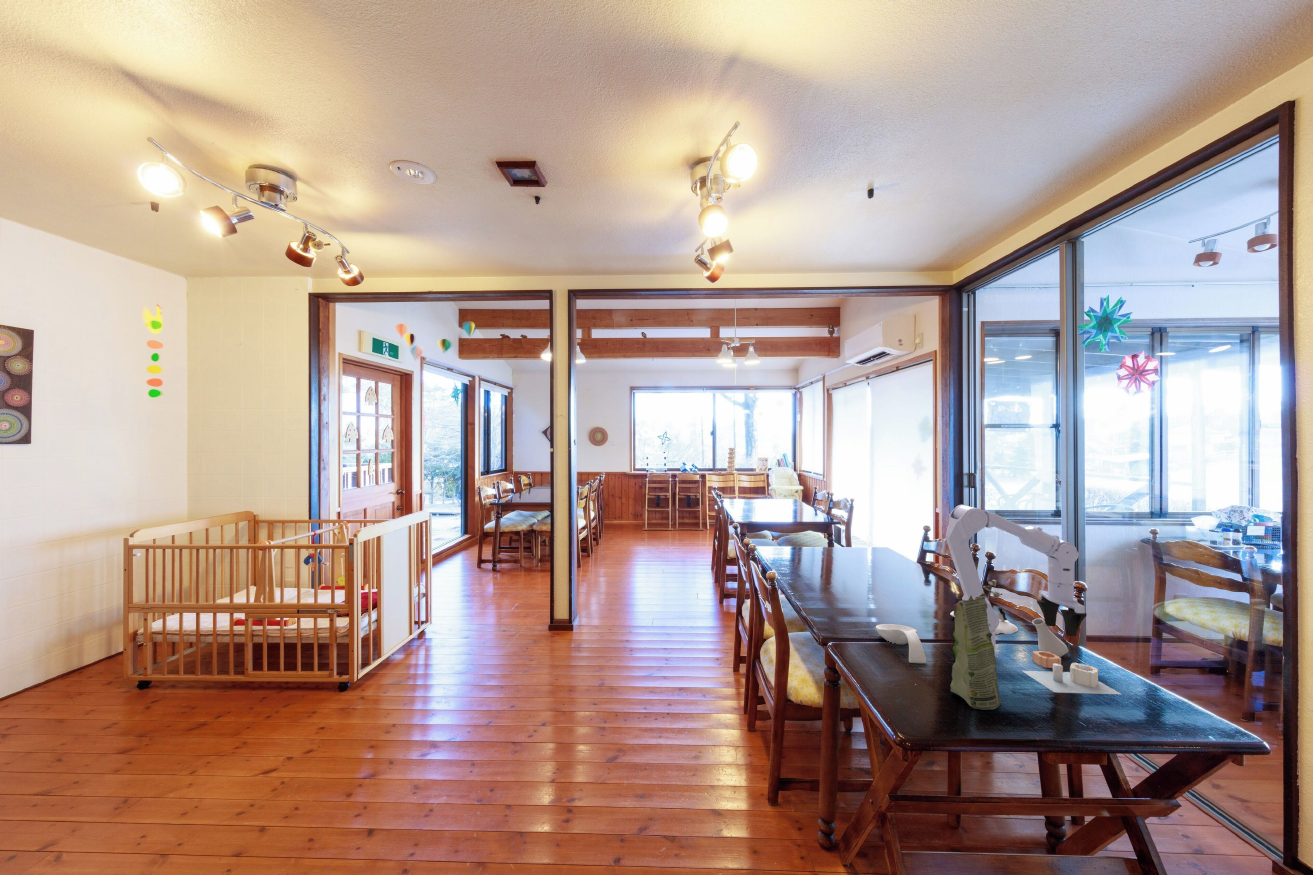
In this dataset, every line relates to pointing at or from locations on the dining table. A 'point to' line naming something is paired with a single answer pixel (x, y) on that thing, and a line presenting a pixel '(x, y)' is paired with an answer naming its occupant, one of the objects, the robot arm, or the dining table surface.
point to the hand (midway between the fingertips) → (1060, 630)
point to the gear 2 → (1084, 675)
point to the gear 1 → (1046, 659)
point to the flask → (1048, 639)
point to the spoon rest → (904, 640)
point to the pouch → (974, 655)
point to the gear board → (1067, 681)
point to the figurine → (999, 613)
